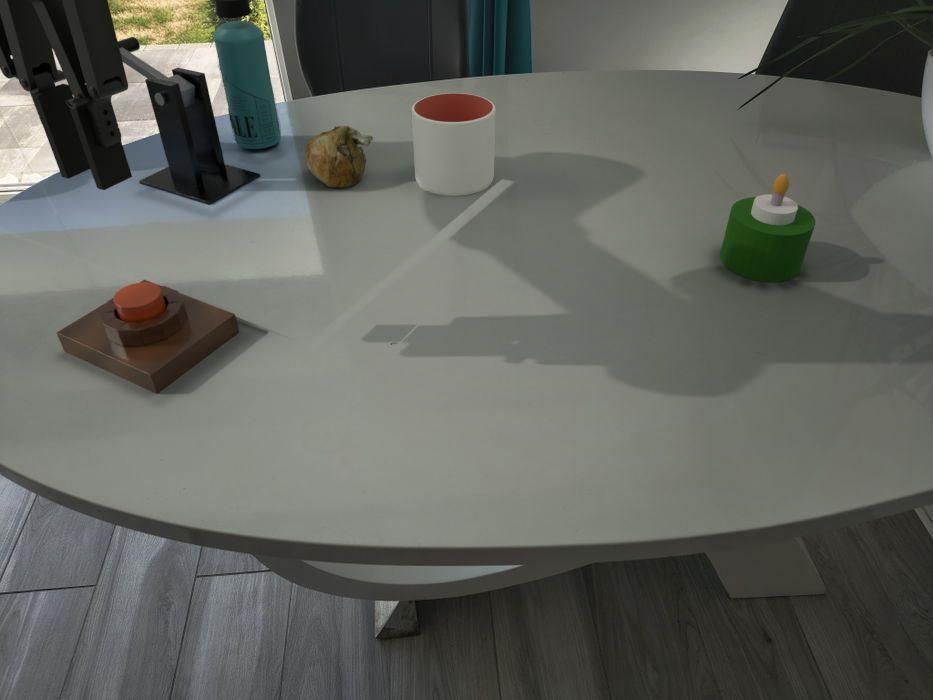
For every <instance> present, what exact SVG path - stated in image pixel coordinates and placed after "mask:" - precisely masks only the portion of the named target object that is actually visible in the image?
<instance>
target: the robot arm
mask: <svg viewBox="0 0 933 700" xmlns="http://www.w3.org/2000/svg"><path fill="white" fill-rule="evenodd" d="M113 21H114V20H113V17H112V12H111V9H110V5H109V0H0V72H1V73H2V74H3V76H4V77H5V78H6V79H8V80H10V79H13V78H15V79H17V80H18V82H19V84H20V86H21V88H22V89H23V90H24V91H26V92H28V93H29V94H30V96H31V99H32V102H33V105H34V108H35V110H36V112H37V115H38V118H39V121H40V123H41V126H42V127H43V130H44V133H45V135H46V138H47V141H48V143H49V146H50V148H51V152H52V154H53V158H54V160H55V162H56V166H57V167H58V170H59V173H60V175H61V177H62V178H64V179H68V180H69V179H71V178H73V177H75V176H79V175H80V174H82V173H84V172H87V171H89V170H90V171H91V175H92V177H93V180H94V183H95V186H96V188H97V189H98V190H101V191H105V190H108V189H110V188H112V187H114V186H116V185H118V184H120V183H122V182H124V181H126V180H128V179H131V178H132V177H133V175H132V171H131V168H130V165H129V162H128V159H127V156H126V152H125V148H124V145H123V142H122V134H121V129H120V128H119V122H118V120H117V116H116V113H115V110H114V106H113V103H112V97H113V96H115V95H118V94H120V93H123V92H126V91H127V90H128V89H129V82H128V78H127V75H126V71H125V66H124V63H123V61H122V57H121V53H120V49H119V45H118V41H119V40H118V37H117V34H116V29H115V24H114V22H113ZM55 58H56V59H55ZM56 60H57V62H58V64H59V67H60V69H58V66H57V62H56ZM64 80H66V82H67V84H66V83H61V84H57V85H56V83H58V82H62V81H64Z"/></svg>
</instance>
